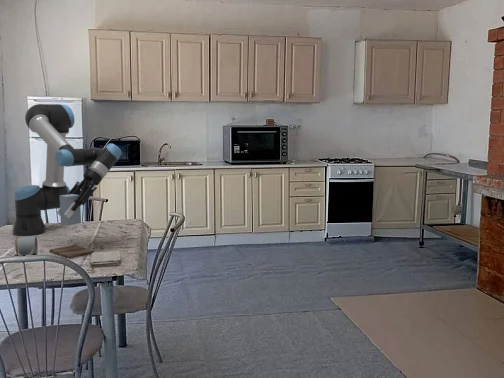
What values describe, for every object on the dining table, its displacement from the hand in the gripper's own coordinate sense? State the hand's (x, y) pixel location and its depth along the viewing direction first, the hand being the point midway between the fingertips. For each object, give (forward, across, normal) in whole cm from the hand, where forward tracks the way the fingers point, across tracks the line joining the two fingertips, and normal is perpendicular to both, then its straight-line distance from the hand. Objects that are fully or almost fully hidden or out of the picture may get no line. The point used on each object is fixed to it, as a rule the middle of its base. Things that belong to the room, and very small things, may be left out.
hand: (62, 215), depth 220 cm
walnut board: (+9, 0, -14) cm, 17 cm away
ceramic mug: (+20, +11, -5) cm, 23 cm away
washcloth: (+8, -21, -17) cm, 28 cm away
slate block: (0, 0, -5) cm, 5 cm away
